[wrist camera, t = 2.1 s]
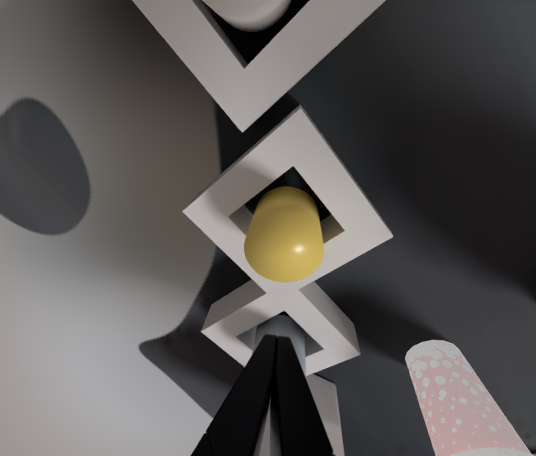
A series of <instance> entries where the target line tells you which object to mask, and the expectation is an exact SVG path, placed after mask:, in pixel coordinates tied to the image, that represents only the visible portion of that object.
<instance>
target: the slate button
mask: <svg viewBox="0 0 536 456" xmlns="http://www.w3.org/2000/svg"><path fill="white" fill-rule="evenodd" d="M266 333H268V334H275V335H277V337H278V336H279V335H283V336H289V337H290V338H291V340H292V343H293V346H294V348H295V351H296V354H297V356H298V359H299V361H300V364H301V367H302V369H303V372H304V375H305V377H306V362H305V331H304V329H303V328H302V327H301V326H300V325H299V324H298V323H297V322H296V321H295V320H294V319H293V318H291V317H289V316H285V315H275V316H273V317H271V318H270V319H268V320H266V321H264V322H262V323H260V324H258V325H257V328H256V334H255V340H254V345H253V351H252V354H253V352H254V351H255V349H256V347H257V346H258V344H259V342H260V341H261V339H262V337H263V336H264V334H266Z"/></svg>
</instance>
